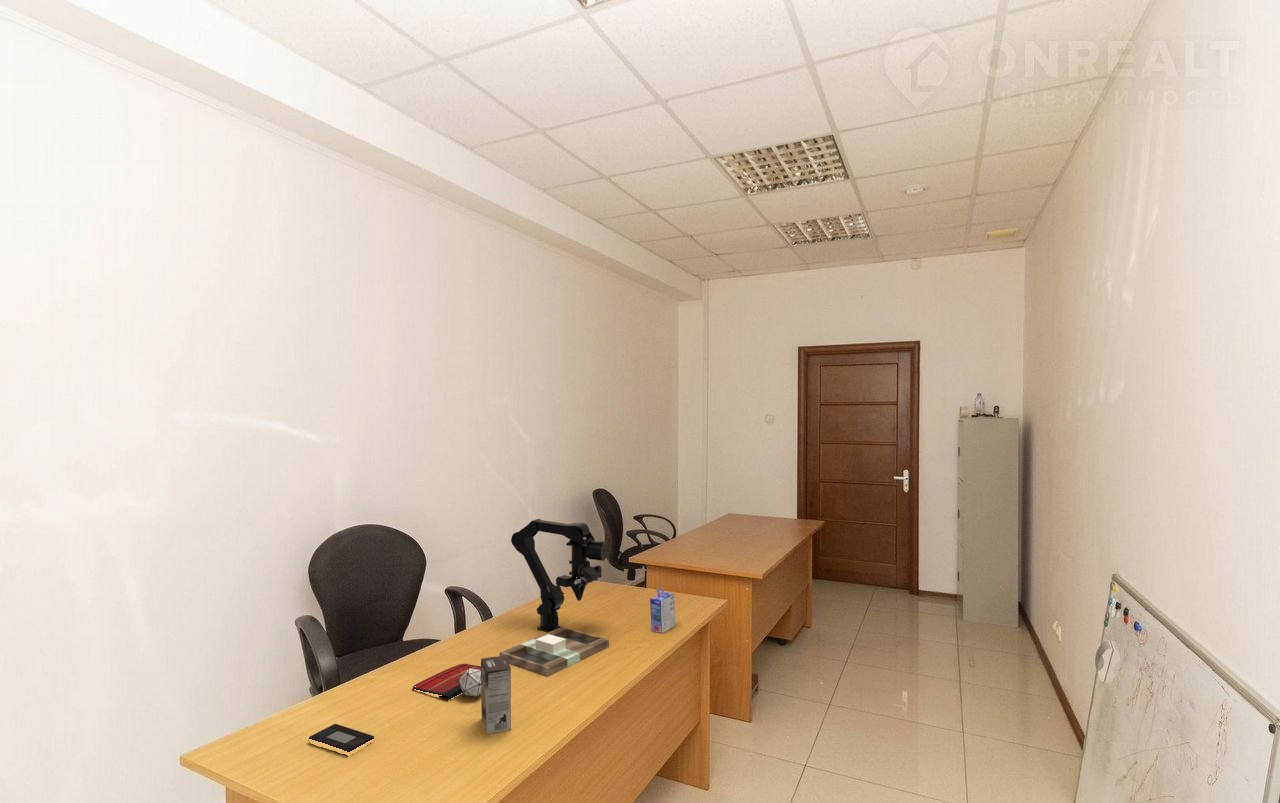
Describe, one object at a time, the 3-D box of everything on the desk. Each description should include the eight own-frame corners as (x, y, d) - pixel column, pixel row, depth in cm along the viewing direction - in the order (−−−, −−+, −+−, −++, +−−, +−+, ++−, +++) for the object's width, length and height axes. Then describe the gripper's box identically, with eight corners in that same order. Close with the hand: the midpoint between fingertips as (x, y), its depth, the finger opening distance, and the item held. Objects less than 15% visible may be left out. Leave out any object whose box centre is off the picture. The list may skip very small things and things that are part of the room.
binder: (499, 668, 195) (448, 695, 176) (499, 675, 194) (448, 703, 176) (461, 660, 202) (409, 685, 184) (462, 667, 202) (409, 693, 184)
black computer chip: (348, 759, 148) (348, 750, 148) (308, 745, 155) (308, 737, 155) (374, 744, 155) (374, 736, 155) (335, 731, 161) (335, 723, 161)
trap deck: (499, 660, 206) (499, 652, 206) (562, 633, 230) (562, 626, 230) (547, 676, 193) (547, 668, 193) (609, 646, 217) (609, 639, 217)
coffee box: (480, 719, 166) (480, 658, 166) (504, 714, 169) (504, 654, 169) (486, 735, 158) (486, 671, 158) (511, 730, 160) (511, 666, 161)
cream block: (535, 648, 209) (535, 639, 209) (548, 643, 214) (548, 634, 214) (553, 653, 204) (553, 644, 204) (565, 648, 209) (565, 639, 209)
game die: (479, 707, 181) (501, 677, 182) (463, 709, 173) (485, 678, 175) (460, 686, 185) (481, 657, 186) (444, 686, 177) (466, 657, 179)
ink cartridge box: (664, 623, 240) (663, 585, 241) (676, 626, 237) (676, 587, 237) (649, 630, 232) (649, 591, 232) (662, 633, 229) (661, 594, 229)
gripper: (576, 566, 219) (576, 611, 218) (612, 556, 233) (612, 598, 233) (554, 561, 226) (554, 604, 225) (590, 552, 240) (590, 593, 240)
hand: (579, 600), depth 231 cm, fingers closed
